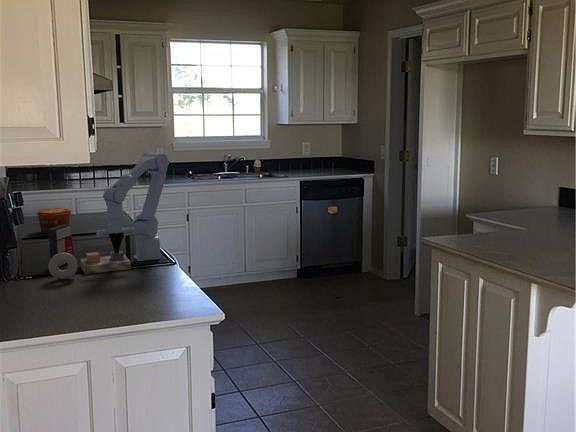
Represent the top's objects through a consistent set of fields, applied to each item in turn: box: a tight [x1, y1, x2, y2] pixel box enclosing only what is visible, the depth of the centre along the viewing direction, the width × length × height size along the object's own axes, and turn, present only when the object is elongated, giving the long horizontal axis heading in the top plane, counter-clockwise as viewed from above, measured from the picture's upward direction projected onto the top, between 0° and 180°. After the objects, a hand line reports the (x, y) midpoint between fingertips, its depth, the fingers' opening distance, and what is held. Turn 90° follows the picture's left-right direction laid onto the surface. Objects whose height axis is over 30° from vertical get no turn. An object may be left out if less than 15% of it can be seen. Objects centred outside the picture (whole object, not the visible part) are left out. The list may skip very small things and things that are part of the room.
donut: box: [47, 252, 79, 280], centre depth 220 cm, size 10×4×10 cm, turn 112°
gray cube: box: [109, 250, 125, 261], centre depth 238 cm, size 4×4×4 cm
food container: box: [36, 207, 72, 235], centre depth 301 cm, size 16×16×11 cm
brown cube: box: [85, 251, 101, 264], centre depth 234 cm, size 4×4×4 cm
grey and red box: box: [47, 224, 74, 268], centre depth 240 cm, size 11×4×15 cm, turn 168°
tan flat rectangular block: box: [79, 254, 132, 275], centre depth 236 cm, size 17×12×3 cm
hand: (116, 252), depth 238 cm, fingers closed, pressing on gray cube
